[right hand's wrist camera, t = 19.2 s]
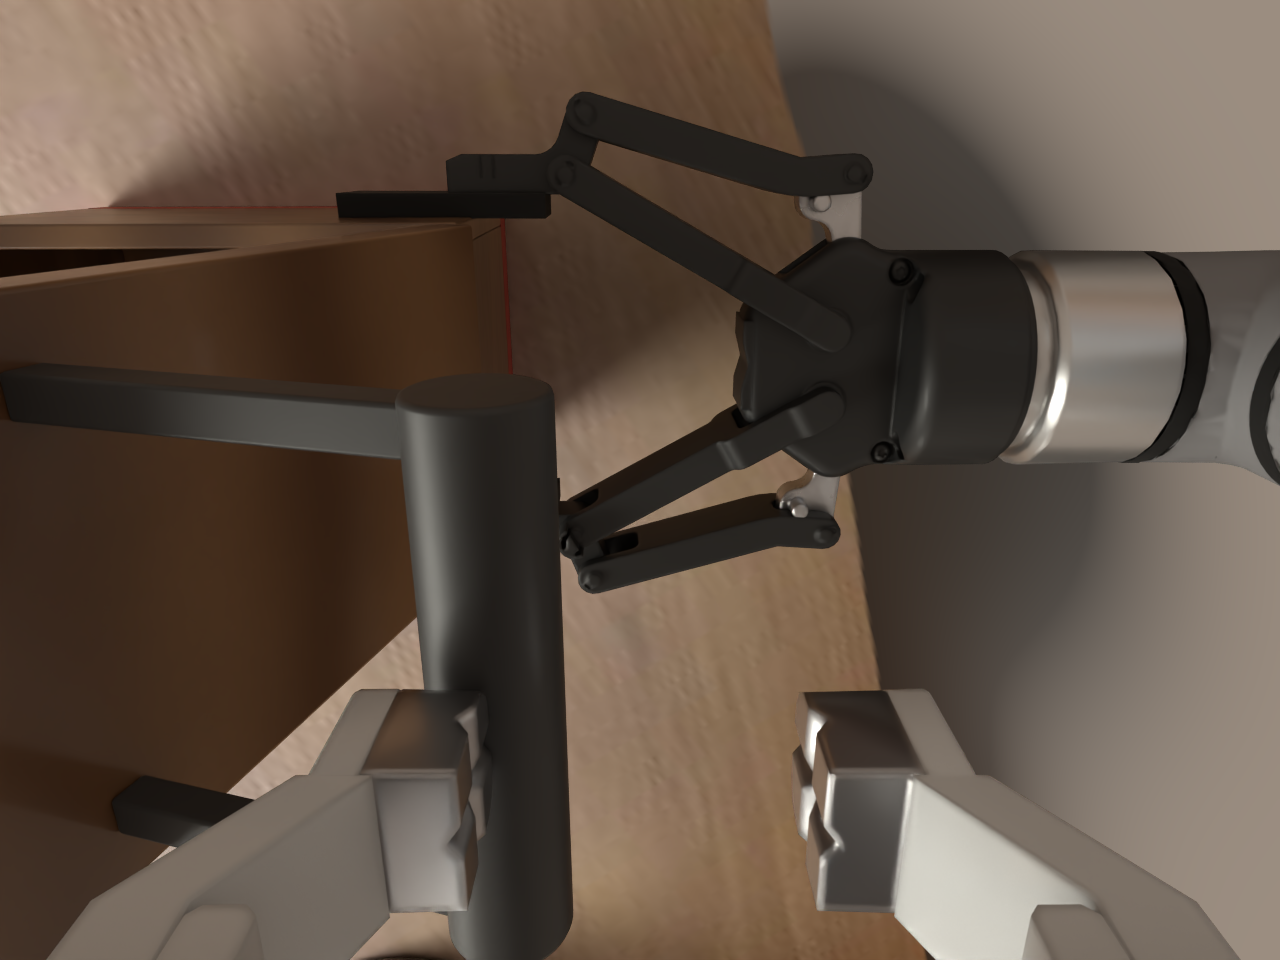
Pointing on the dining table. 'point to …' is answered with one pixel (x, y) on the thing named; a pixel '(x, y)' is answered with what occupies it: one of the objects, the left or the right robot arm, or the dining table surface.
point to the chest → (239, 246)
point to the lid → (265, 555)
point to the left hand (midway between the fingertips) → (366, 361)
